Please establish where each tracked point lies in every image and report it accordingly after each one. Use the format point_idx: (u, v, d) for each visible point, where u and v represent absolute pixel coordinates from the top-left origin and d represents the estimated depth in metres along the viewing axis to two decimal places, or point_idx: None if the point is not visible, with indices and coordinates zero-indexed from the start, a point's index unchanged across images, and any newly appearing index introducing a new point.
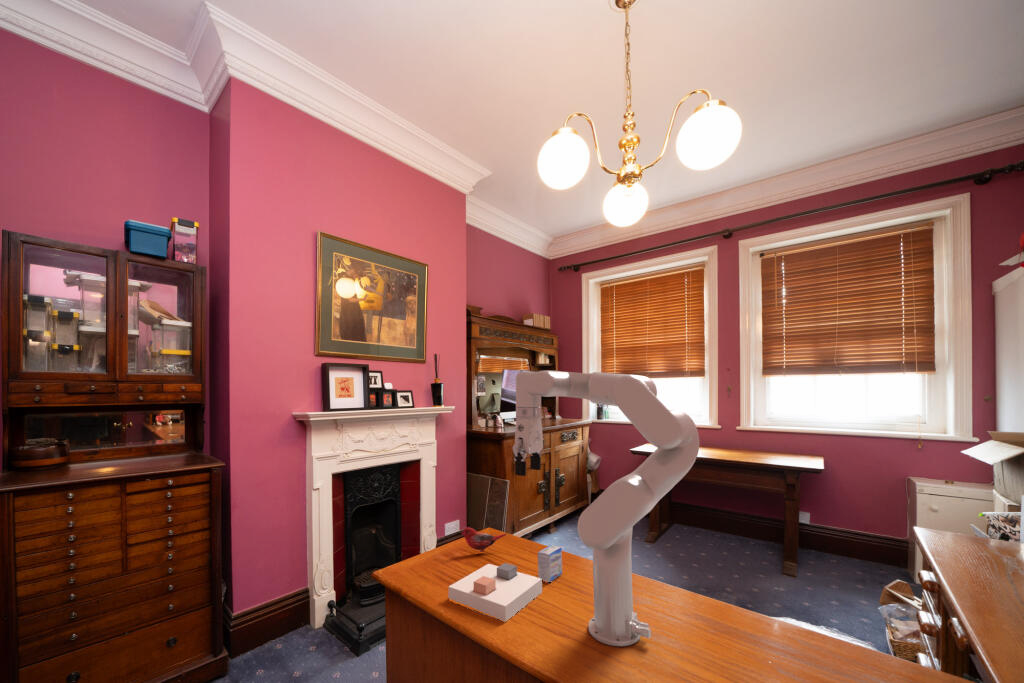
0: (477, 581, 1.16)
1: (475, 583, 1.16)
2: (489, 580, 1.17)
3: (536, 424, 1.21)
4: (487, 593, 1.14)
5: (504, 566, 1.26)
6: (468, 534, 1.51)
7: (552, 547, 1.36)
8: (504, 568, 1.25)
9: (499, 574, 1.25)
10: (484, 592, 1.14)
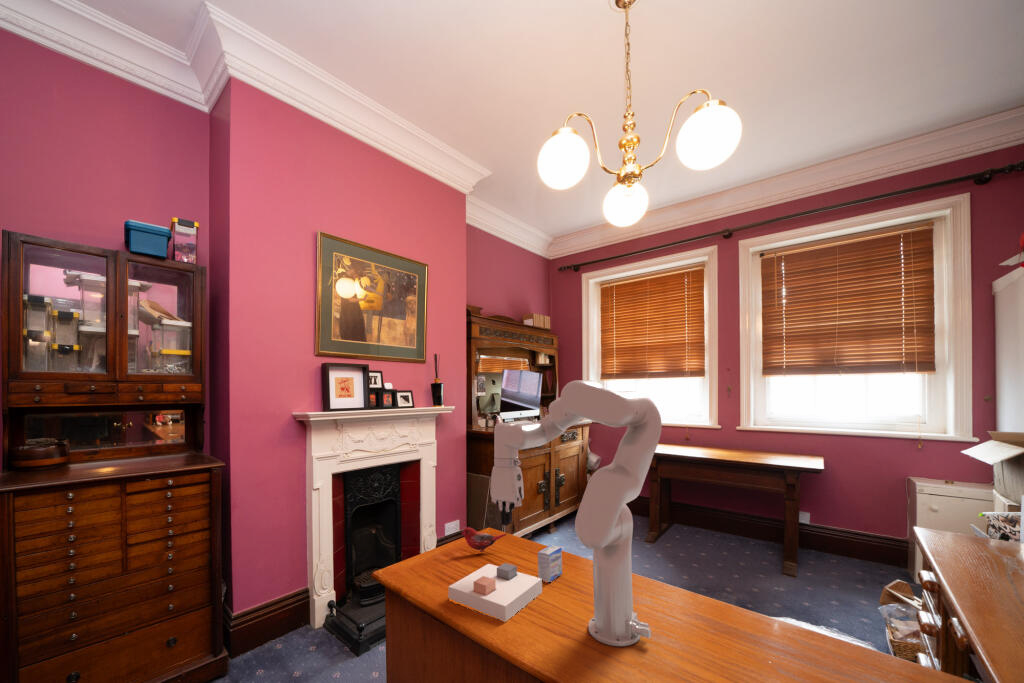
0: (477, 581, 1.16)
1: (475, 583, 1.16)
2: (489, 580, 1.17)
3: None
4: (487, 593, 1.14)
5: (504, 566, 1.26)
6: (468, 534, 1.51)
7: (552, 547, 1.36)
8: (504, 568, 1.25)
9: (499, 574, 1.25)
10: (484, 592, 1.14)
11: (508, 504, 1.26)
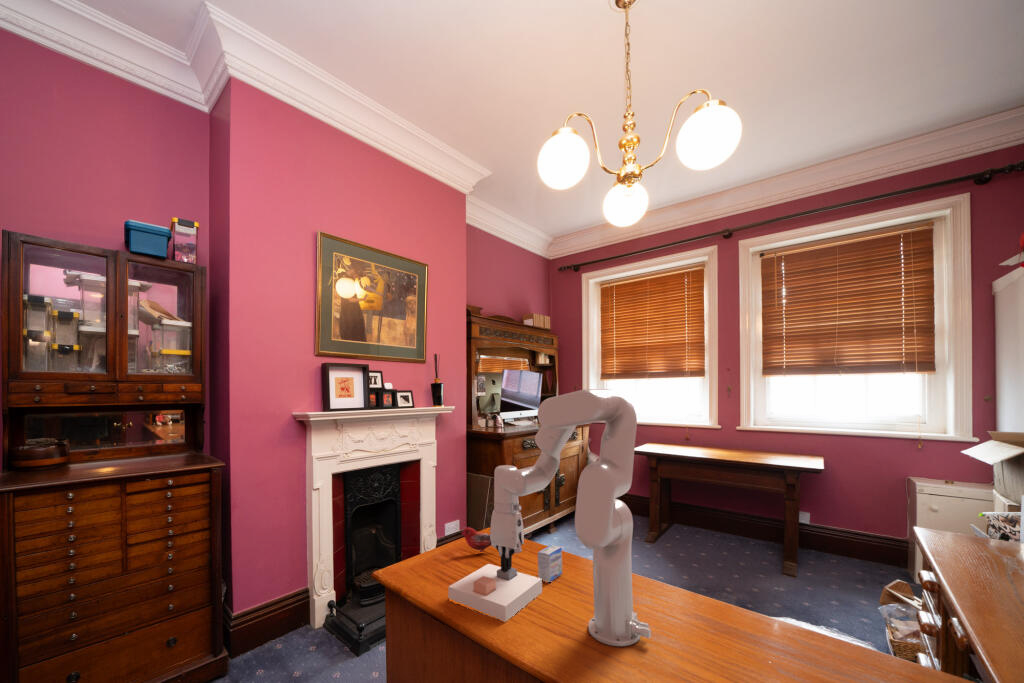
0: (477, 581, 1.16)
1: (475, 583, 1.16)
2: (489, 580, 1.17)
3: None
4: (487, 593, 1.14)
5: None
6: (468, 534, 1.51)
7: (552, 547, 1.36)
8: (504, 571, 1.25)
9: (499, 577, 1.24)
10: (484, 592, 1.14)
11: (508, 550, 1.25)
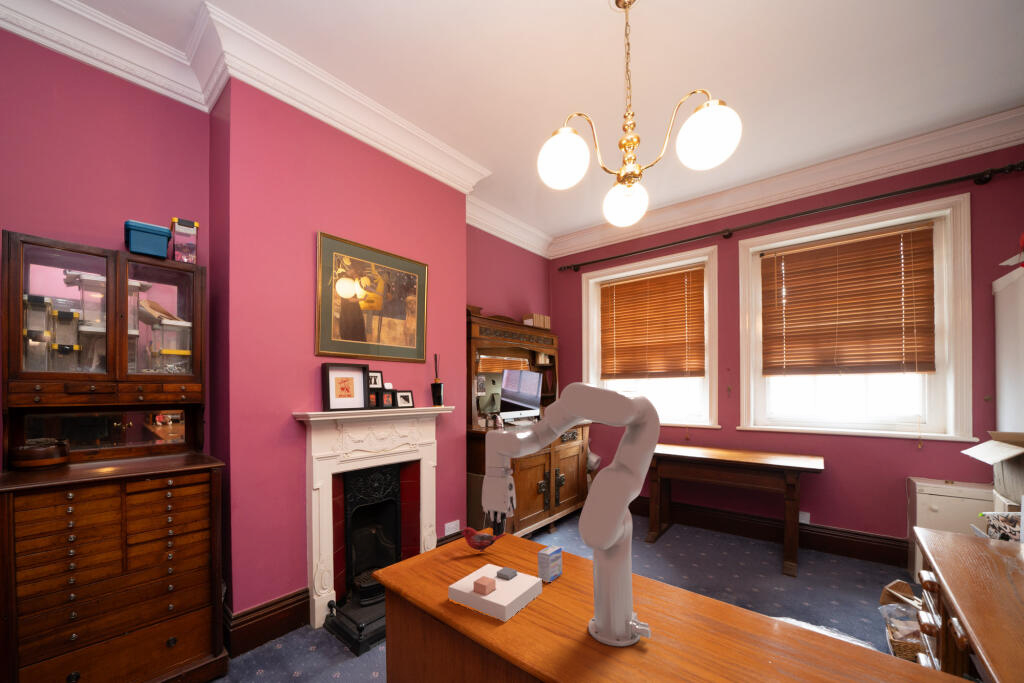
0: (477, 581, 1.16)
1: (475, 583, 1.16)
2: (489, 580, 1.17)
3: None
4: (487, 593, 1.14)
5: (504, 570, 1.26)
6: (468, 534, 1.51)
7: (552, 547, 1.36)
8: (504, 572, 1.25)
9: None
10: (484, 592, 1.14)
11: (499, 514, 1.22)
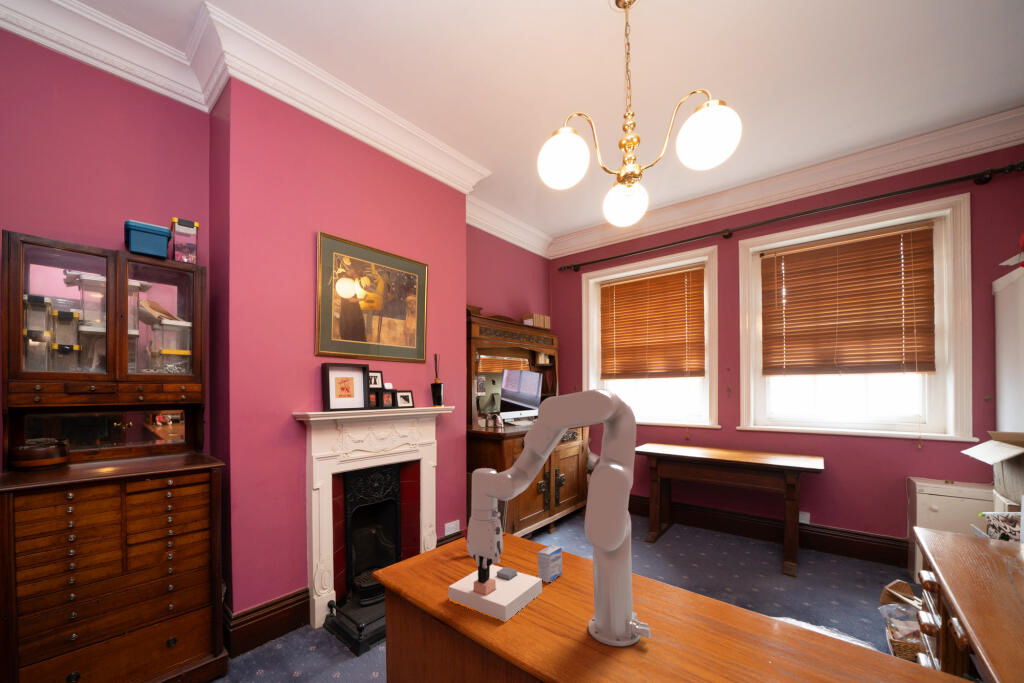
0: (477, 581, 1.16)
1: (475, 583, 1.16)
2: (489, 581, 1.17)
3: None
4: (487, 593, 1.14)
5: (504, 570, 1.26)
6: None
7: (552, 547, 1.36)
8: (504, 572, 1.25)
9: None
10: (484, 592, 1.14)
11: (485, 560, 1.16)
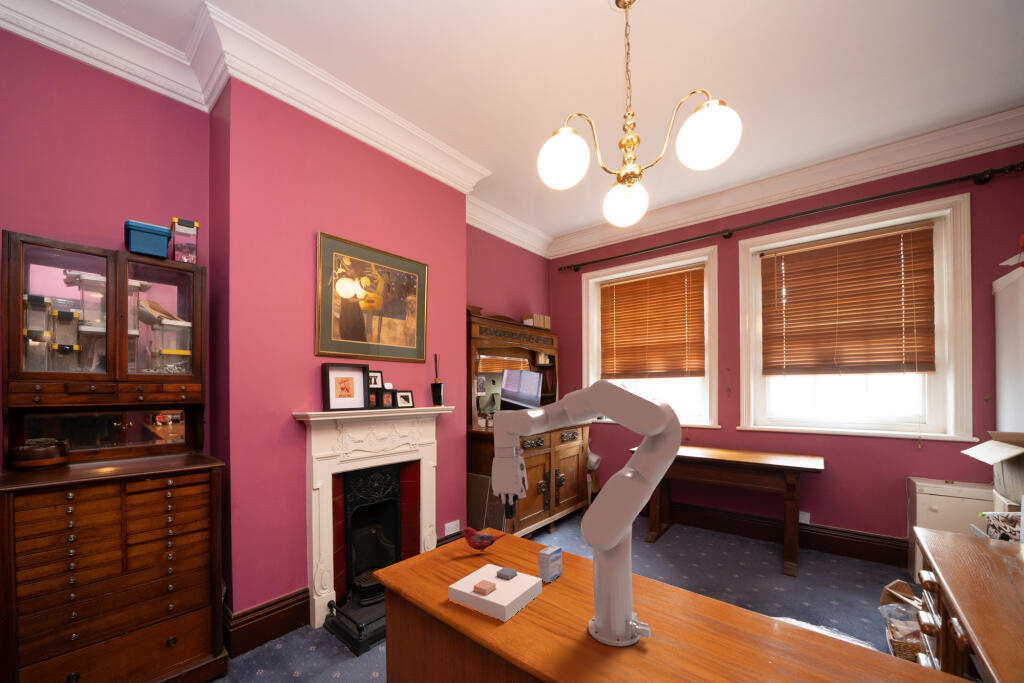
0: (477, 585, 1.16)
1: (475, 587, 1.16)
2: (489, 584, 1.17)
3: None
4: None
5: (504, 570, 1.26)
6: (468, 534, 1.51)
7: (552, 547, 1.36)
8: (504, 572, 1.25)
9: None
10: None
11: (511, 496, 1.18)
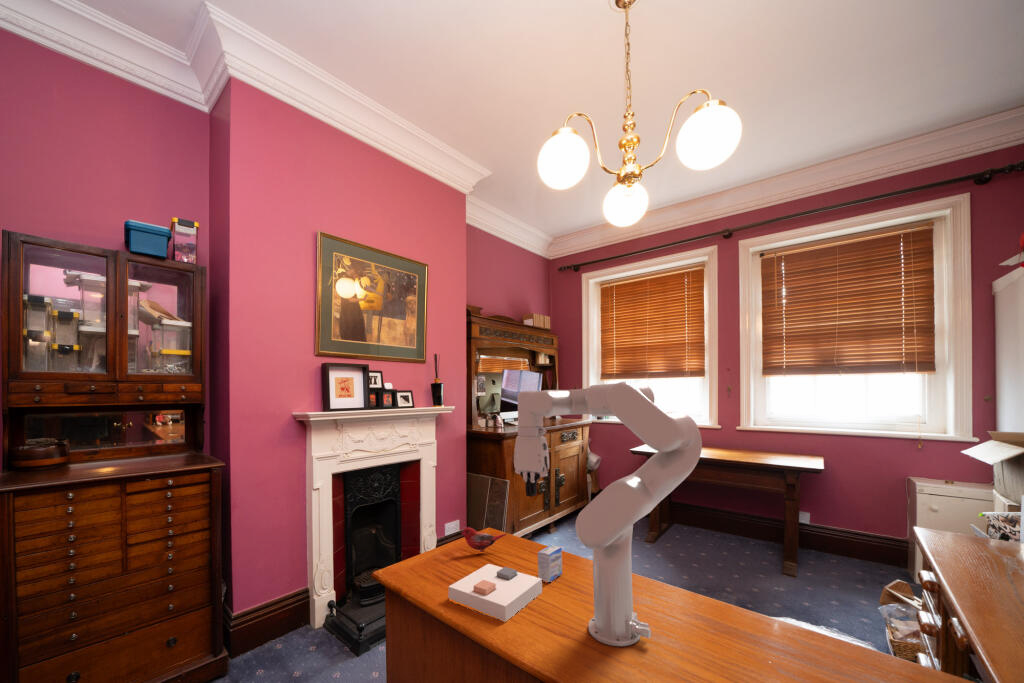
0: (477, 585, 1.16)
1: (475, 587, 1.16)
2: (489, 584, 1.17)
3: None
4: None
5: (504, 570, 1.26)
6: (468, 534, 1.51)
7: (552, 547, 1.36)
8: (504, 572, 1.25)
9: None
10: None
11: (533, 474, 1.21)
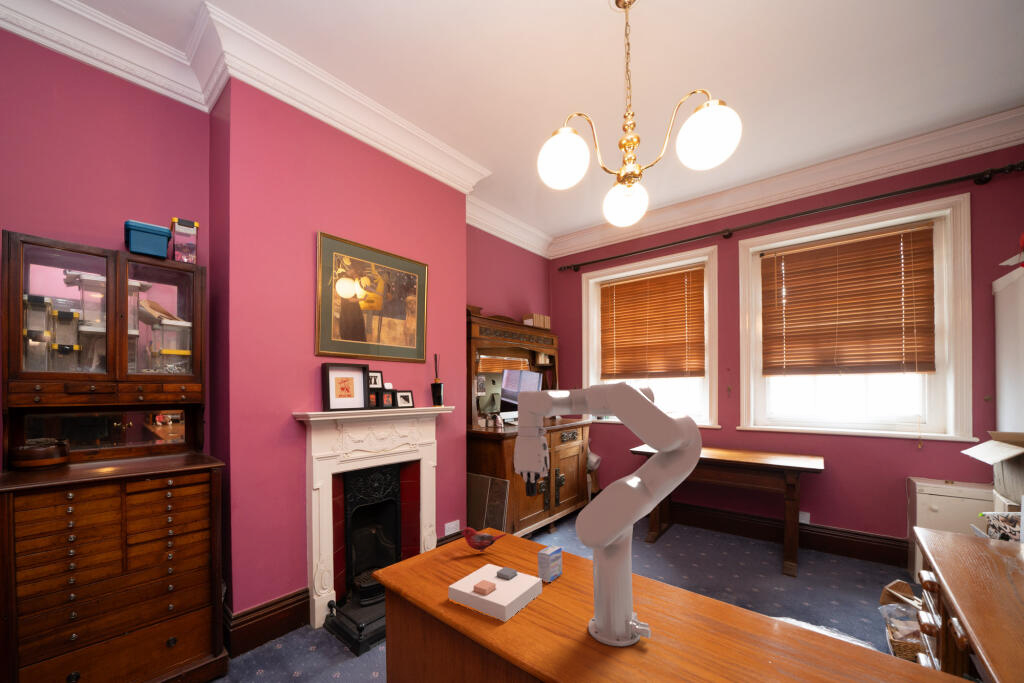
0: (477, 585, 1.16)
1: (475, 587, 1.16)
2: (489, 584, 1.17)
3: None
4: None
5: (504, 570, 1.26)
6: (468, 534, 1.51)
7: (552, 547, 1.36)
8: (504, 572, 1.25)
9: None
10: None
11: (533, 474, 1.21)
